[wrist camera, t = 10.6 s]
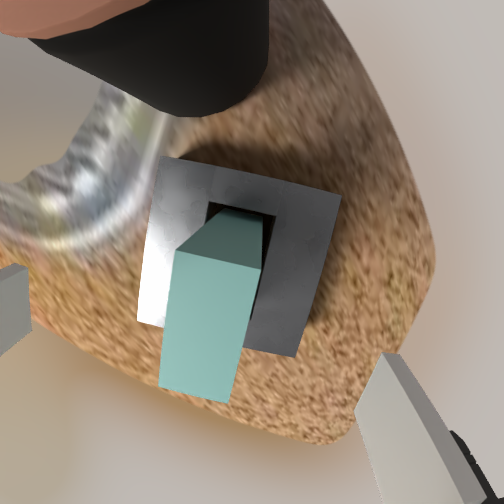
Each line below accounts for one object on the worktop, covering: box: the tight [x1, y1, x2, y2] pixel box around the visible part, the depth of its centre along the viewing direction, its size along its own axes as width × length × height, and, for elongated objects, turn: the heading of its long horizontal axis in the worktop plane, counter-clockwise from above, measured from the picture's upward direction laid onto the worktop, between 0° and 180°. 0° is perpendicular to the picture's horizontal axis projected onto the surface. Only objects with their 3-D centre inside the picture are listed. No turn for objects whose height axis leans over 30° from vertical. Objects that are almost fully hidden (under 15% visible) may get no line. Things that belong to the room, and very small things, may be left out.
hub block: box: [137, 156, 342, 358], centre depth 23 cm, size 12×12×4 cm
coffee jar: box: [0, 0, 269, 117], centre depth 13 cm, size 11×11×18 cm
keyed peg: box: [158, 208, 263, 403], centre depth 18 cm, size 6×3×14 cm, turn 168°
